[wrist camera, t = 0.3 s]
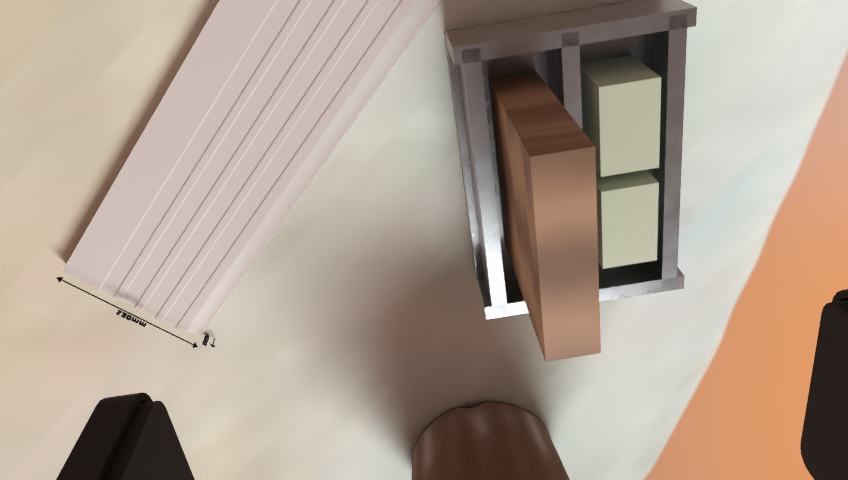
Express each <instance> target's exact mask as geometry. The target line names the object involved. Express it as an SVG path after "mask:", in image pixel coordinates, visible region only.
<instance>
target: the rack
mask: <svg viewBox="0 0 848 480" xmlns="http://www.w3.org/2000/svg"><path fill="white" fill-rule="evenodd" d="M696 13H697V7H695V6H693V5H691V4H688V3H686V2H684V1H682V0H635V1H629V2H623V3H617V4H611V5H605V6H599V7H592V8H586V9H580V10H574V11H568V12H562V13H556V14H550V15H544V16H538V17H532V18H526V19H520V20H514V21H507V22H501V23H495V24H489V25H483V26H477V27H471V28H465V29H459V30H453V31H447V32H444V33H445V40H446V48H447V56H448V64H449V71H450V79H451V87H452V94H453V102H454V110H455V118H456V125H457V133H458V141H459V149H460V156H461V164H462V172H463V180H464V187H465V195H466V203H467V211H468V218H469V226H470V234H471V241H472V249H473V257H474V265H475V272H476V279H477V283H478V288H479V292H480V296H481V300H482V304H483V308H484V312H485V316H486V320H487V319H493V318H500V317H506V316H512V315H518V314H525V313H529V312H528V309H527V307H526V304H525V301H524V298H523V295H522V292H521V289H520V286H519V284H518V281H517V278H516V275H515V272H514V269H513V266H512V263H511V261H510V258H509V255H508V252H507V249H506V246H505V240H504V230H503V221H502V211H501V201H500V191H499V181H498V172H497V162H496V152H495V142H494V132H493V123H492V113H491V103H490V93H489V83H488V79H489V78H495V77H501V76H507V75H513V74H519V73H525V72H532V71H536V72H537V73H538V74H539V76H540V77H541V78H542V79H543V81H544V82H545V83H546V84H547V86H548V87H549V88H550V90H551V91H552V92H553V93H554V95H555V96H556V97H557V98H558V100H559V101H560V102H561V104H562V105H563V106H564V107H565V109H566V110H567V111H568V112H569V114H570V115H571V116H572V117H573V119H574V120H575V121H576V123H577V124H578V125H579V126H580V128H581V129H582V104H581V76H580V63H587V62H593V61H599V60H605V59H611V58H617V57H623V56H629V55H632V56H633V57H635V58H636V59H637V60H639V61H640V62H641V63H643V64H644V65H646V66H647V67H648V68H650V69H651V70H652V71H654V72H655V73H656V74H658V75H659V76H660V77H661V110H660V153H659V168H653V169H647V170H648V171H649V172H650V173H651V175H652V176H653V177H654V178H655V179H656V180H657V181H658V182H659V196H658V238H657V260H655V261H649V262H643V263H636V264H630V265H624V266H618V267H611V268H605V269H603V268H602V266H601V265H600V263H599V261H598V271H599V302H600V301H606V300H613V299H619V298H625V297H632V296H638V295H644V294H650V293H657V292H663V291H669V290H676V289H682V288H684V275H683V274H682V272H681V271H680V270H679V268H678V267H677V260H678V236H679V211H680V186H681V162H682V137H683V112H684V88H685V63H686V38H687V27H692V26H696Z"/></svg>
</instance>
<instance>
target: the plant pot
mask: <svg viewBox="0 0 848 480" xmlns="http://www.w3.org/2000/svg"><path fill="white" fill-rule="evenodd" d="M412 480H569V477H568V475H567V473H566V471H565V469H564V466H563V464H562V462H561V460H560V457H559V455H558V453H557V451H556V449H555V447H554V445H553V442H552V440H551V437H550V435H549V432H548V431H547V429H546V427H545V426H544V425H543V423H542V422H541V421H540V420H539V419H538V418H537V417H535V416H534V415H533V414H531V413H530V412H528V411H526V410H524V409H522V408H519V407H517V406H514V405H510V404H505V403H498V402H483V403H481V404H480V405H479V406H476V407H472V408H460V407H458V408H455V409H453V410H451V411H449V412H447V413H445V414H443V415H442V416H440V417H439V418H437V419H436V420H435V421H433V422H432V423H431V424H430V425H429V426H428V427H427V428H426V429H425V430H424V432H423V433H422V434H421V436H420V437H419V439H418V441H417V443H416V445H415V448H414V451H413V457H412Z"/></svg>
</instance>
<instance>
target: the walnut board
mask: <svg viewBox="0 0 848 480" xmlns="http://www.w3.org/2000/svg"><path fill="white" fill-rule="evenodd" d="M488 83H489V93H490V103H491V113H492V123H493V132H494V142H495V152H496V162H497V172H498V181H499V191H500V201H501V211H502V221H503V230H504V240H505V246H506V249H507V252H508V255H509V258H510V261H511V263H512V266H513V269H514V272H515V275H516V278H517V281H518V284H519V286H520V289H521V292H522V295H523V298H524V301H525V304H526V307H527V309H528V312H529V315H530V318H531V321H532V324H533V327H534V330H535V332H536V335H537V338H538V341H539V344H540V347H541V350H542V353H543V355H544V358H545V361H552V360H558V359H565V358H571V357H577V356H584V355H590V354H596V353H601V349H600V310H599V271H598V232H597V193H596V154H595V145H594V144H593V143H592V142H591V140H590V139H589V138H588V137H587V135H586V134H585V133H584V131H583V130H582V129H581V128H580V126H579V125H578V124H577V123H576V121H575V120H574V119H573V117H572V116H571V115H570V114H569V112H568V111H567V110H566V109H565V107H564V106H563V105H562V104H561V102H560V101H559V100H558V98H557V97H556V96H555V95H554V93H553V92H552V91H551V90H550V88H549V87H548V86H547V84H546V83H545V82H544V81H543V79H542V78H541V77H540V76H539V74H538V73H537V72H536V71H532V72H525V73H519V74H513V75H507V76H501V77H495V78H489V79H488Z"/></svg>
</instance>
